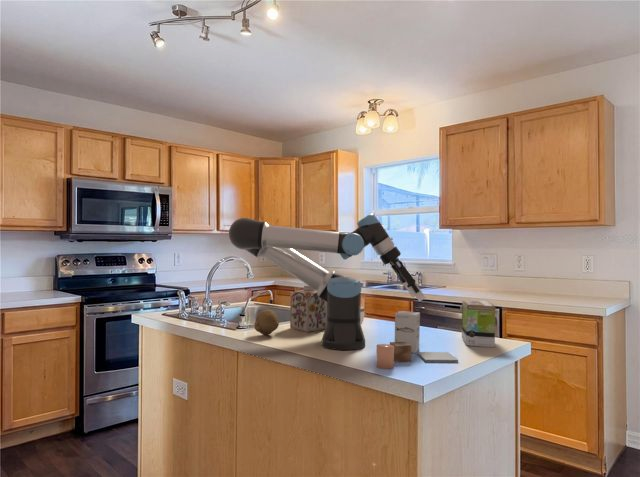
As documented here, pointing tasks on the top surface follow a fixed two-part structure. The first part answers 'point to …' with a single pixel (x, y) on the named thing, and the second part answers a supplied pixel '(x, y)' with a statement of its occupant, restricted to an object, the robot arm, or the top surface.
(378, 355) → the peach rounded cylinder
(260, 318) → the natural sponge
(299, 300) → the decorative jar
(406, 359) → the walnut block
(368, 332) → the top surface
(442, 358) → the slate tile
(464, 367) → the top surface
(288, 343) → the top surface
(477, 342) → the tea box
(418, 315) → the supplement box
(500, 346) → the top surface
